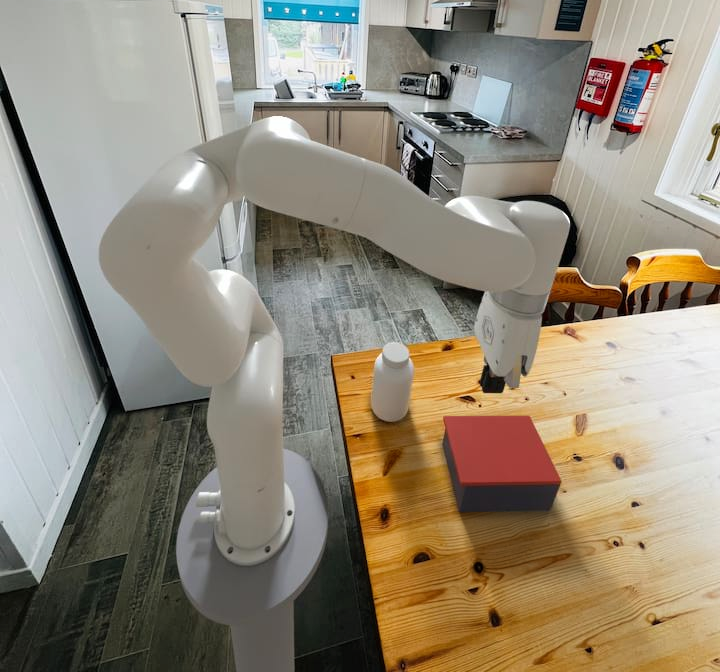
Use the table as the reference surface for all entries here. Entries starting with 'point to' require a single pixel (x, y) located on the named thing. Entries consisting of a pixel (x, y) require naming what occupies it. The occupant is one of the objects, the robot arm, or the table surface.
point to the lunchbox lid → (499, 451)
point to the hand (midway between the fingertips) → (490, 388)
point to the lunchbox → (498, 493)
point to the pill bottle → (392, 382)
